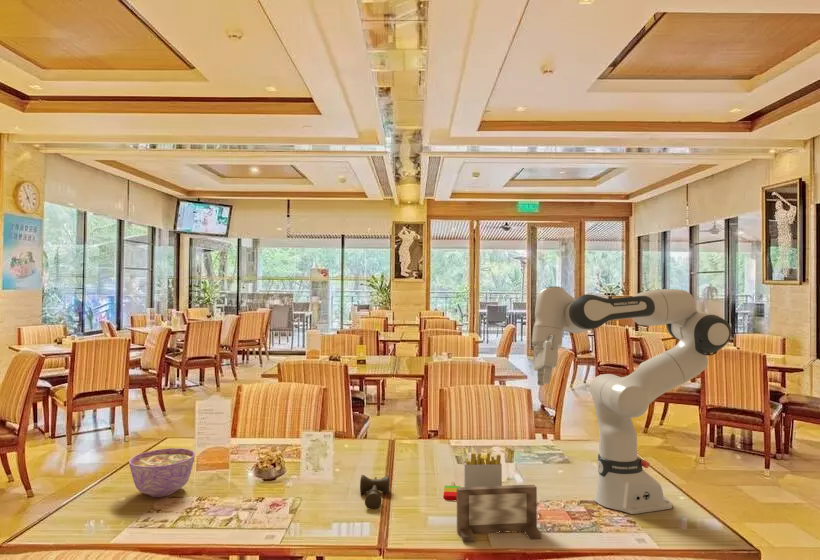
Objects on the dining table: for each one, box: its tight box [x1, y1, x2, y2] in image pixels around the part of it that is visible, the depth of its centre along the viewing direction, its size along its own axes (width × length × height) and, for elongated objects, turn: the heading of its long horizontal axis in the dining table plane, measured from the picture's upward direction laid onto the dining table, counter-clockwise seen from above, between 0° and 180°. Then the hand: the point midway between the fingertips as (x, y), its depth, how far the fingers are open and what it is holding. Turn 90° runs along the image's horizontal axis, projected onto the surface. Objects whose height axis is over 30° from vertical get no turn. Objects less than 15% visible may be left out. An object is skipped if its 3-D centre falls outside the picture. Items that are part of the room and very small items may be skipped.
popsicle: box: [443, 481, 462, 502], centre depth 179 cm, size 6×15×2 cm, turn 174°
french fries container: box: [463, 452, 503, 487], centre depth 163 cm, size 5×11×18 cm, turn 91°
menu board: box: [456, 484, 542, 544], centre depth 148 cm, size 22×7×12 cm, turn 96°
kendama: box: [359, 474, 391, 510], centre depth 175 cm, size 6×10×20 cm
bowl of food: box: [128, 447, 196, 498], centre depth 179 cm, size 20×20×12 cm
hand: (543, 384), depth 162 cm, fingers open, 8 cm apart
